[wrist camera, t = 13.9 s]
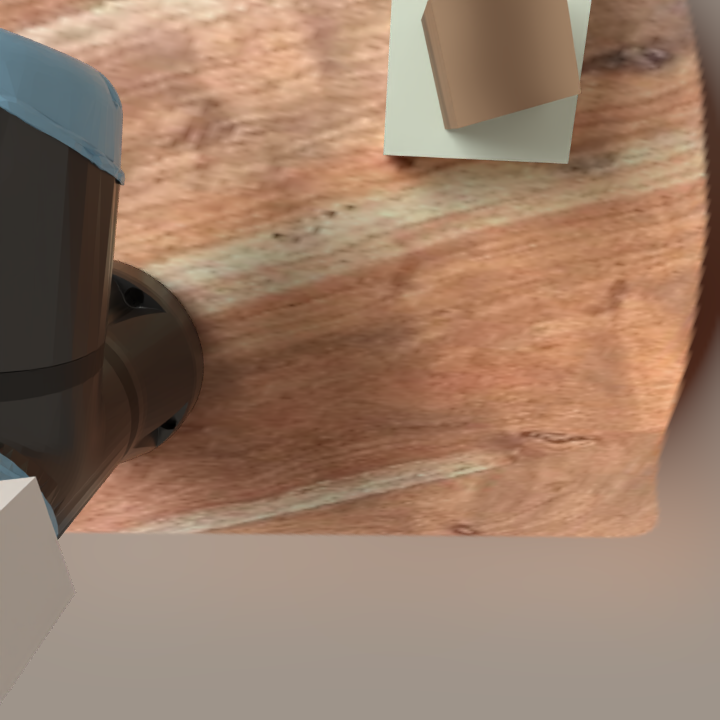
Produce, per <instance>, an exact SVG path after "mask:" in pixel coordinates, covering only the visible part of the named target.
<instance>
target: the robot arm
mask: <svg viewBox="0 0 720 720" xmlns="http://www.w3.org/2000/svg"><path fill="white" fill-rule="evenodd" d="M122 124H123V111H122V105H121V101H120V98H119V95H118V93H117V91H116V90H115V88H114V87H113V85H112V84H111V83H110V81H109V80H108V79H107V78H106V77H105V76H104V75H103V74H101V73H100V72H99V71H97V70H96V69H95V68H93V67H91V66H90V65H88V64H86V63H84V62H82V61H80V60H78V59H75V58H73V57H71V56H69V55H67V54H64V53H62V52H59V51H57V50H55V49H52V48H50V47H48V46H45V45H43V44H40V43H38V42H35V41H33V40H31V39H28V38H25V37H23V36H20V35H18V34H15V33H13V32H10V31H7V30H5V29H2V28H0V704H1V703H2V701H3V700H4V698H5V697H6V696H7V694H8V693H9V691H10V690H11V688H12V687H13V685H14V684H15V682H16V681H17V679H18V678H19V676H20V675H21V673H22V672H23V670H24V669H25V667H26V666H27V665H28V663H29V662H30V660H31V659H32V657H33V656H34V654H35V653H36V651H37V650H38V648H39V647H40V645H41V644H42V642H43V641H44V639H45V638H46V637H47V635H48V634H49V632H50V631H51V629H52V628H53V626H54V625H55V623H56V622H57V620H58V619H59V617H60V616H61V614H62V613H63V611H64V610H65V608H66V607H67V605H68V604H69V603H70V601H71V599H72V598H73V597H74V595H75V594H76V591H75V589H74V586H73V583H72V580H71V577H70V574H69V572H68V568H67V566H66V563H65V560H64V557H63V555H62V551H61V548H60V545H59V543H58V539H59V538H60V537H61V535H62V534H63V533H64V532H65V530H66V529H67V528H68V527H69V525H70V524H71V523H72V522H73V520H74V519H75V518H76V517H77V515H78V514H79V513H80V512H81V510H82V509H83V508H84V507H85V505H86V504H87V503H88V502H89V500H90V499H91V498H92V497H93V495H94V494H95V493H96V492H97V490H98V489H99V488H100V487H101V485H102V484H103V483H104V482H105V480H106V479H107V478H108V477H109V475H110V474H111V473H112V472H113V470H114V469H115V468H116V466H117V465H118V464H120V463H123V462H125V461H128V460H130V459H133V458H135V457H138V456H140V455H143V454H145V453H147V452H149V451H151V450H153V449H155V448H157V447H158V446H159V445H161V444H162V443H164V442H165V441H166V440H167V439H168V438H170V437H171V436H172V435H173V434H174V433H175V432H176V431H177V429H178V428H179V427H180V426H181V424H182V423H183V421H184V420H185V419H186V417H187V416H188V414H189V413H190V412H191V410H192V408H193V406H194V404H195V402H196V400H197V398H198V395H199V392H200V389H201V384H202V378H203V355H202V349H201V344H200V341H199V337H198V335H197V332H196V329H195V327H194V325H193V323H192V321H191V319H190V317H189V315H188V314H187V312H186V311H185V309H184V308H183V306H182V305H181V304H180V302H179V301H178V300H177V299H176V298H175V297H174V296H173V294H172V293H171V292H170V291H169V290H167V289H166V288H165V287H164V286H163V285H162V284H161V283H159V282H158V281H157V280H155V279H154V278H152V277H151V276H149V275H148V274H146V273H144V272H142V271H141V270H139V269H137V268H134V267H132V266H130V265H127V264H124V263H121V262H118V261H114V260H113V258H114V247H115V235H116V224H117V213H118V202H119V190H120V185H124V181H125V175H124V172H123V171H122V170H121V147H122Z"/></svg>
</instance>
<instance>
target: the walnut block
mask: <svg viewBox="0 0 720 720" xmlns="http://www.w3.org/2000/svg"><path fill="white" fill-rule="evenodd" d="M421 22H422V27H423V31H424V36H425V41H426V45H427V50H428V54H429V59H430V64H431V68H432V73H433V77H434V82H435V87H436V91H437V96H438V100H439V105H440V110H441V114H442V119H443V123H444V128H445V129H457V128H461V127H465V126H468V125H472V124H475V123H479V122H482V121H486V120H489V119H493V118H497V117H500V116H504V115H507V114H511V113H514V112H518V111H521V110H525V109H528V108H532V107H535V106H539V105H542V104H546V103H549V102H553V101H556V100H560V99H563V98H567V97H570V96H574V95H577V94H581V88H580V81H579V75H578V68H577V61H576V55H575V48H574V42H573V35H572V28H571V22H570V15H569V9H568V2H567V0H428V1H427V4H426V7H425V10H424V13H423V16H422V18H421Z"/></svg>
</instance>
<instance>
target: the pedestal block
mask: <svg viewBox="0 0 720 720" xmlns="http://www.w3.org/2000/svg"><path fill="white" fill-rule="evenodd" d="M427 1H428V0H392V7H391V25H390V44H389V62H388V80H387V99H386V117H385V135H384V154H383V155H397V156H418V157H438V158H459V159H479V160H500V161H520V162H541V163H561V164H568V160H569V153H570V146H571V140H572V133H573V126H574V119H575V112H576V105H577V98H578V94H577V95H574V96H570V97H567V98H563V99H560V100H556V101H553V102H549V103H546V104H542V105H539V106H535V107H532V108H528V109H525V110H521V111H518V112H514V113H511V114H507V115H504V116H500V117H497V118H493V119H489V120H486V121H482V122H479V123H475V124H472V125H468V126H465V127H461V128H457V129H445V128H444V123H443V119H442V114H441V110H440V105H439V100H438V96H437V91H436V87H435V82H434V77H433V73H432V68H431V64H430V59H429V54H428V50H427V45H426V41H425V36H424V31H423V27H422V22H421V18H422V16H423V13H424V10H425V7H426V4H427ZM567 2H568V9H569V15H570V22H571V28H572V35H573V42H574V48H575V55H576V61H577V68H578V75H579V81H580V77H581V70H582V63H583V56H584V49H585V42H586V35H587V28H588V21H589V14H590V7H591V0H567Z"/></svg>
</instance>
